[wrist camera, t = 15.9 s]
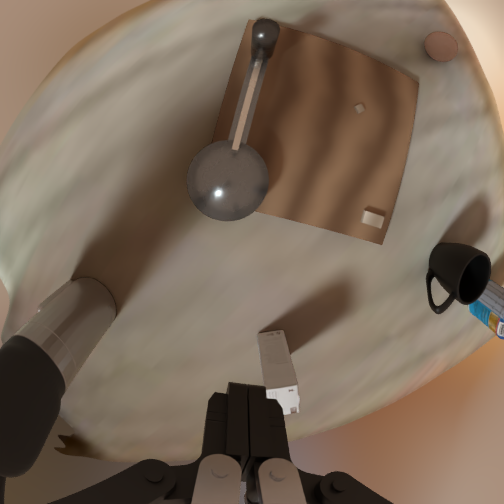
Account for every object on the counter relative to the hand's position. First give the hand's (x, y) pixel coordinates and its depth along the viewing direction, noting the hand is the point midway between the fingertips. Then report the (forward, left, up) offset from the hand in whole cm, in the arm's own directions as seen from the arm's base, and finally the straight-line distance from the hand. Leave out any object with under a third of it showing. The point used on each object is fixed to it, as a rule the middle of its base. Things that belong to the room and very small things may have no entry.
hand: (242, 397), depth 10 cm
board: (+6, +16, -27) cm, 32 cm away
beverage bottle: (+50, 0, -27) cm, 57 cm away
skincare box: (+9, -16, -27) cm, 33 cm away
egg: (+22, +38, -27) cm, 51 cm away
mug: (+32, +3, -27) cm, 42 cm away
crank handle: (-3, +13, -25) cm, 28 cm away
